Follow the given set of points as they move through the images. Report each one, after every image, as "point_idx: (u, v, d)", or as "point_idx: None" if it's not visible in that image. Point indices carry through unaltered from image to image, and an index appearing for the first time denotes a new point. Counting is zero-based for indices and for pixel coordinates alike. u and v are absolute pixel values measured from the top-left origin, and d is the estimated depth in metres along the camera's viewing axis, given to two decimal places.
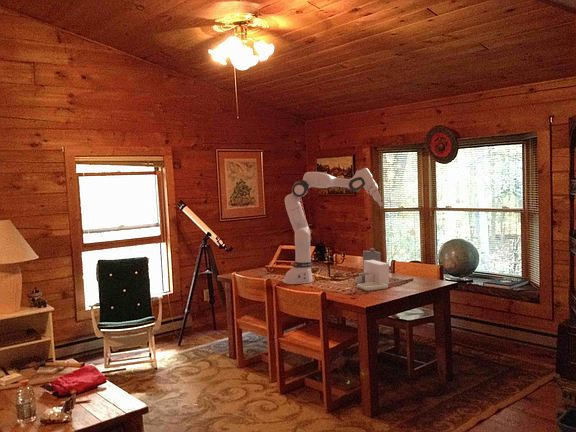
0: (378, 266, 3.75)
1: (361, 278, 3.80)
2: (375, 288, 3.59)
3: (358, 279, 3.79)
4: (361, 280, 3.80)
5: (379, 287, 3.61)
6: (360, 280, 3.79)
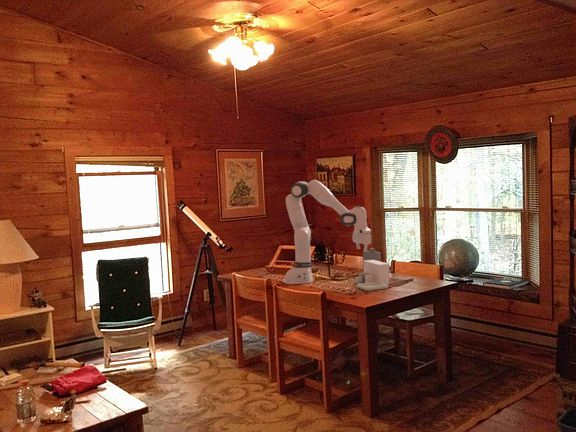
0: (378, 266, 3.75)
1: (361, 278, 3.80)
2: (375, 288, 3.59)
3: (358, 279, 3.79)
4: (361, 280, 3.80)
5: (379, 287, 3.61)
6: (360, 280, 3.79)
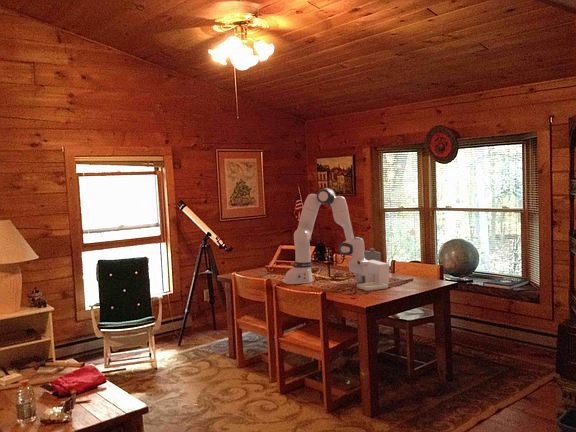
0: (378, 266, 3.75)
1: (361, 278, 3.80)
2: (375, 288, 3.59)
3: None
4: (361, 280, 3.80)
5: (379, 287, 3.61)
6: None
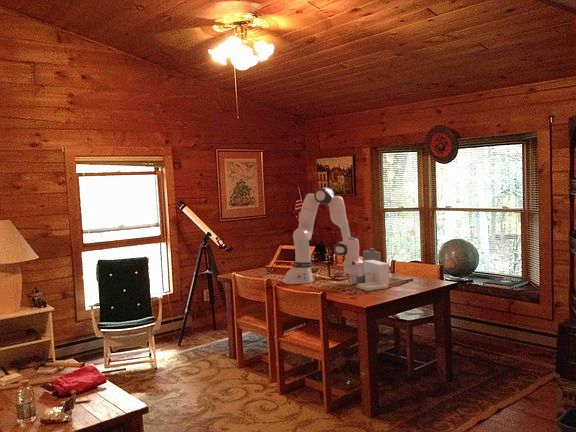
0: (378, 266, 3.75)
1: (356, 278, 3.78)
2: (375, 288, 3.59)
3: None
4: (356, 280, 3.78)
5: (379, 287, 3.61)
6: None
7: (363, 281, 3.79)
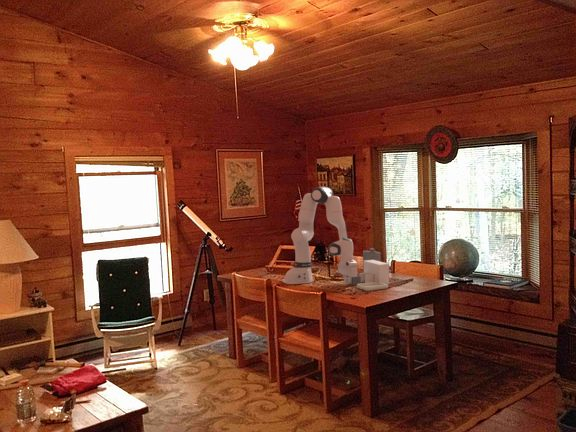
0: (378, 266, 3.75)
1: None
2: (375, 288, 3.59)
3: None
4: None
5: (379, 287, 3.61)
6: None
7: (357, 282, 3.77)
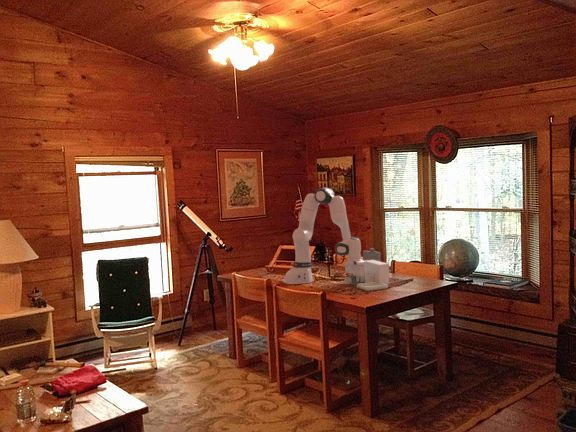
0: (378, 266, 3.75)
1: (350, 279, 3.76)
2: (375, 288, 3.59)
3: (347, 280, 3.75)
4: (350, 281, 3.76)
5: (379, 287, 3.61)
6: (349, 281, 3.76)
7: (357, 282, 3.76)
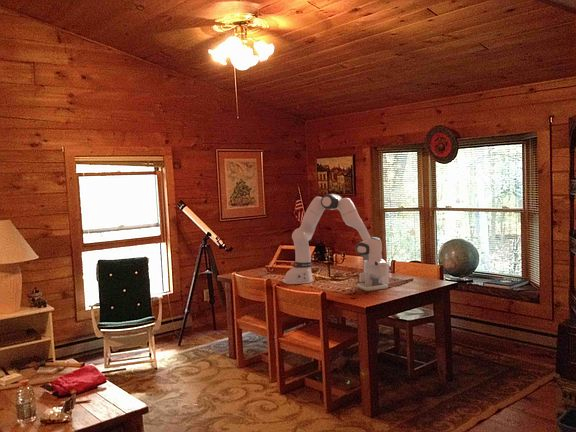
0: None
1: (371, 281, 3.64)
2: (375, 288, 3.59)
3: (367, 282, 3.63)
4: (371, 283, 3.64)
5: (379, 287, 3.61)
6: (370, 283, 3.64)
7: (378, 284, 3.65)
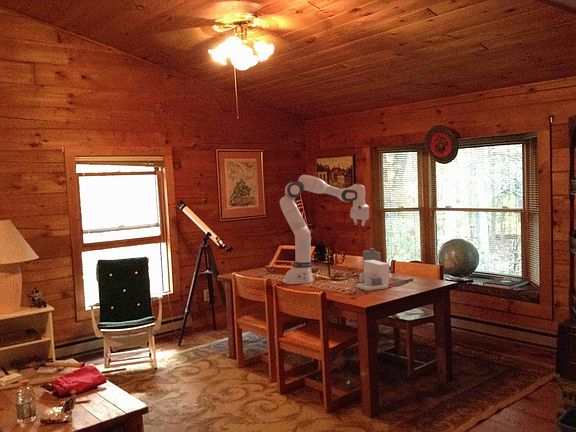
0: (378, 266, 3.75)
1: (371, 281, 3.64)
2: (375, 288, 3.59)
3: (367, 282, 3.63)
4: (371, 283, 3.64)
5: (379, 287, 3.61)
6: (370, 283, 3.64)
7: (378, 284, 3.65)
